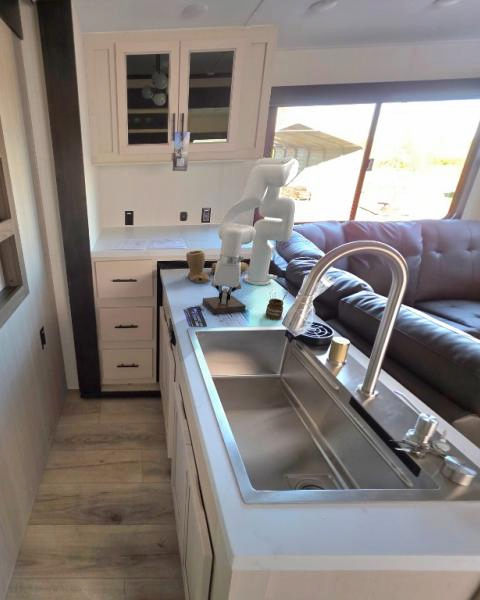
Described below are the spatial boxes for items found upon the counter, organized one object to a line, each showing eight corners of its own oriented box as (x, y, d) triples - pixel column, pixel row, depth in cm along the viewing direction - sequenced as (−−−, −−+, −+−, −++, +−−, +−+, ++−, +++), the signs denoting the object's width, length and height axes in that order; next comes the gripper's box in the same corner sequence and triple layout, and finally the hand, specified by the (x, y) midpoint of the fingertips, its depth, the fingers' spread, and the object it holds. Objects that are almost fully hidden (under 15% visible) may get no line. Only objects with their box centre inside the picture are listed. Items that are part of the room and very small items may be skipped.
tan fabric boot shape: (183, 274, 174) (185, 247, 168) (205, 274, 173) (208, 248, 167) (186, 284, 160) (188, 255, 154) (210, 284, 160) (213, 255, 154)
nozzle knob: (222, 298, 136) (223, 287, 134) (226, 299, 135) (227, 287, 133) (221, 304, 130) (222, 292, 128) (225, 304, 130) (227, 292, 128)
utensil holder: (266, 312, 130) (271, 285, 125) (282, 315, 127) (288, 288, 122) (263, 318, 125) (269, 290, 121) (281, 321, 122) (287, 293, 118)
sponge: (212, 278, 172) (251, 273, 167) (211, 264, 170) (250, 258, 165) (212, 274, 184) (248, 269, 179) (210, 261, 183) (246, 256, 178)
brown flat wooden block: (231, 301, 140) (232, 294, 139) (244, 312, 130) (245, 305, 129) (202, 304, 138) (202, 297, 136) (213, 315, 128) (214, 308, 126)
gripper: (250, 258, 126) (243, 299, 134) (210, 254, 131) (205, 295, 138) (250, 263, 120) (243, 307, 127) (208, 259, 124) (203, 301, 132)
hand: (223, 300), depth 133 cm, fingers closed on nozzle knob, 2 cm apart
